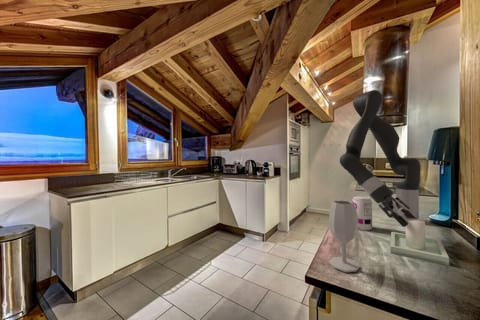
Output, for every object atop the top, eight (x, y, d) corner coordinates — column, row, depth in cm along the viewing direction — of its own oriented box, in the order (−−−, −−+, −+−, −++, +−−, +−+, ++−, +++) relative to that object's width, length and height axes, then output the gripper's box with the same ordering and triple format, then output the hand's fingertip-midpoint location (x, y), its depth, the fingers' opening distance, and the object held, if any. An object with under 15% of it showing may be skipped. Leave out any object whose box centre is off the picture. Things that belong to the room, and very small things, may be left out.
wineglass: (346, 276, 61) (345, 206, 60) (323, 262, 69) (322, 200, 68) (365, 269, 64) (364, 203, 64) (342, 256, 72) (341, 198, 72)
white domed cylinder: (405, 242, 80) (405, 217, 80) (424, 245, 77) (424, 219, 76) (406, 247, 75) (406, 221, 75) (426, 251, 72) (426, 223, 72)
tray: (391, 237, 87) (391, 231, 87) (439, 246, 78) (439, 239, 78) (390, 253, 74) (390, 246, 74) (449, 265, 65) (449, 258, 65)
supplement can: (354, 229, 97) (353, 198, 97) (351, 224, 105) (351, 195, 104) (374, 231, 94) (373, 199, 94) (370, 226, 102) (369, 196, 101)
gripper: (375, 185, 80) (412, 221, 71) (391, 182, 88) (426, 214, 79) (361, 197, 85) (394, 232, 76) (377, 192, 93) (409, 224, 83)
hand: (410, 223), depth 77 cm, fingers open, 8 cm apart
